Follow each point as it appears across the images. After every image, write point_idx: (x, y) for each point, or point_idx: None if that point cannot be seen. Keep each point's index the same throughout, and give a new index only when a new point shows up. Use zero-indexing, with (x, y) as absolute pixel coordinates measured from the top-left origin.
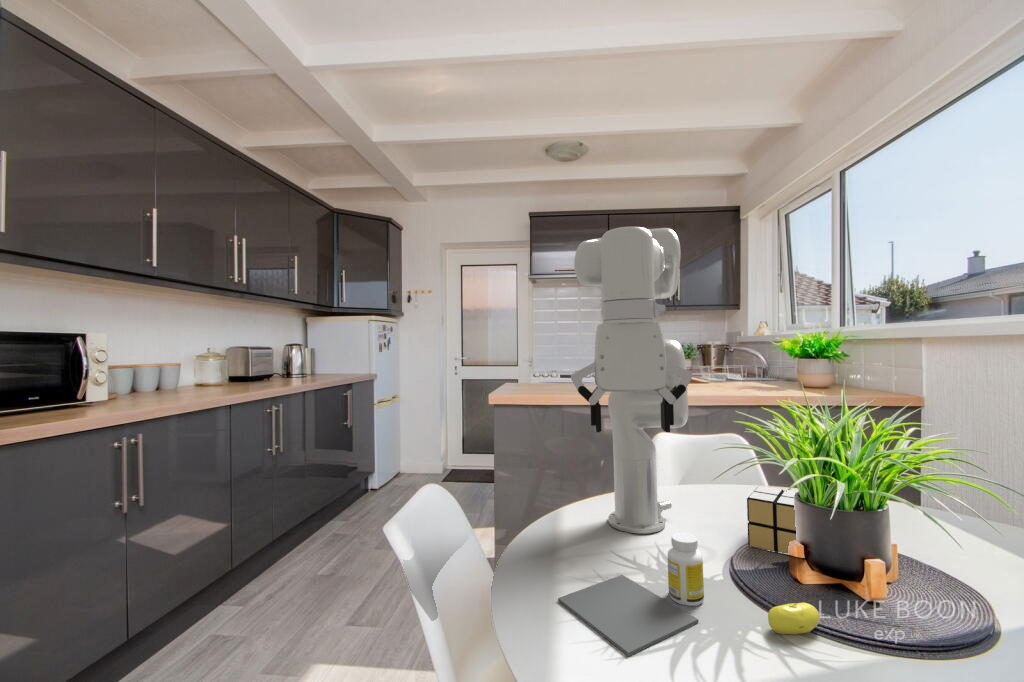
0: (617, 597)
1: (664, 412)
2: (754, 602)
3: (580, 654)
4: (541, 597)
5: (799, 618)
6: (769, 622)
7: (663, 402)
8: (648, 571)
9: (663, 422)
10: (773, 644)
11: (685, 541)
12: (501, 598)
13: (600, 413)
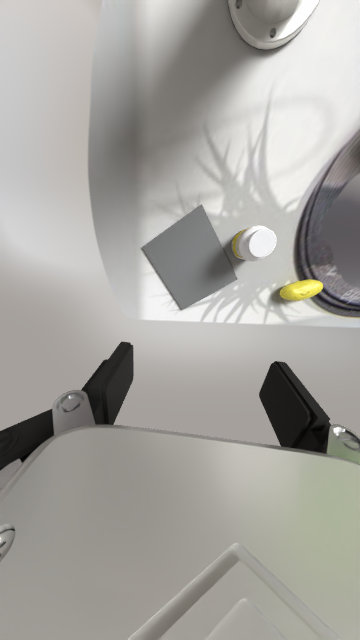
0: (188, 247)
1: (276, 435)
2: (294, 252)
3: (155, 306)
4: (129, 241)
5: (299, 300)
6: (280, 293)
7: (304, 440)
8: (230, 190)
9: (269, 398)
10: (271, 301)
11: (258, 254)
12: (98, 241)
13: (117, 412)
